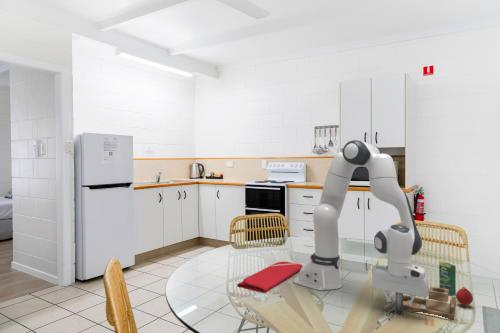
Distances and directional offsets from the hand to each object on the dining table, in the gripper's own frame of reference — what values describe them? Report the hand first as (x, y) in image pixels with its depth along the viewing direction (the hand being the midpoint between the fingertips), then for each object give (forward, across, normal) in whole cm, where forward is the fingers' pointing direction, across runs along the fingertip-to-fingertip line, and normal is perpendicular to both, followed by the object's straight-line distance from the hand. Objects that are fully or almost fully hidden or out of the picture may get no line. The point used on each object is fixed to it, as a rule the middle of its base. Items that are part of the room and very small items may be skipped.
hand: (399, 303), depth 138 cm
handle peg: (+4, 0, 0) cm, 4 cm away
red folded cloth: (+4, -62, +11) cm, 63 cm away
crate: (+3, +13, +9) cm, 16 cm away
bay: (+4, +8, +10) cm, 13 cm away
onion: (+4, +21, +22) cm, 30 cm away
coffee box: (+4, +14, +36) cm, 38 cm away
